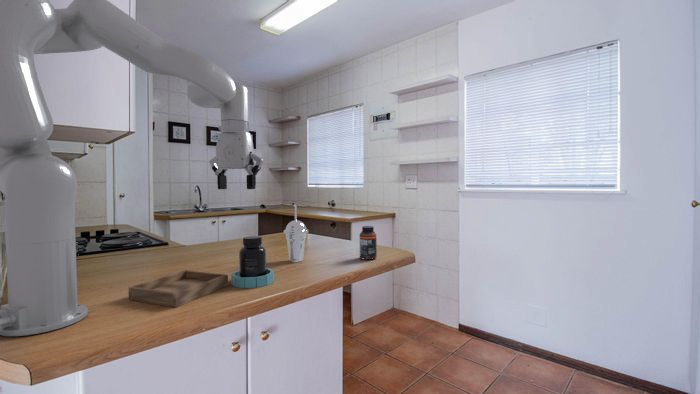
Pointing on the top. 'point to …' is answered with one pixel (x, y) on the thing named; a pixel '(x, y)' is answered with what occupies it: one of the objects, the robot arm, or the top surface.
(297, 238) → the cup with straw
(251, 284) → the holder ring
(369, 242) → the supplement bottle
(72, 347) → the top surface
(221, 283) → the tray
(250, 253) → the supplement bottle
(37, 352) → the top surface
